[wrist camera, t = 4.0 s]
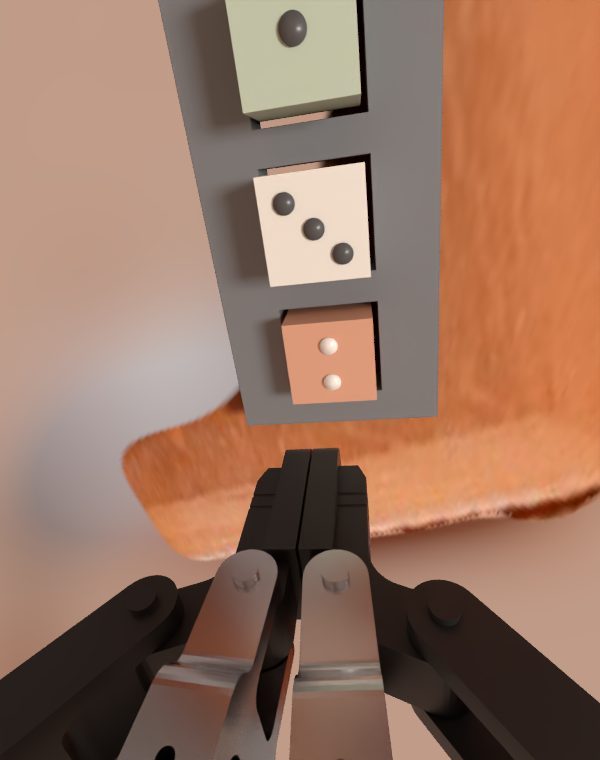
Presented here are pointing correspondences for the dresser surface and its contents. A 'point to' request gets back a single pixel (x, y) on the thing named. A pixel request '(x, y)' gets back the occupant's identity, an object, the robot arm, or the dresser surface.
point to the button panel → (314, 144)
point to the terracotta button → (330, 353)
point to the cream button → (315, 224)
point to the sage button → (295, 56)
